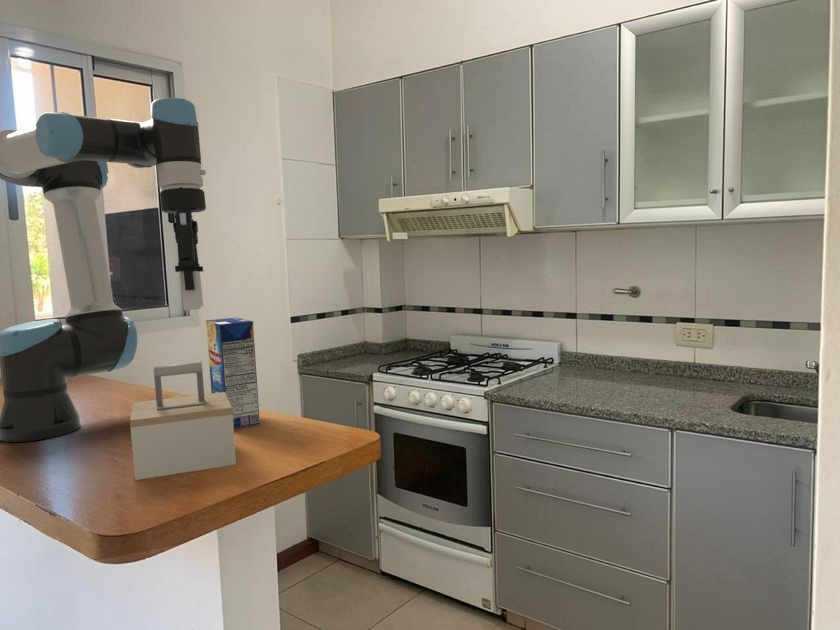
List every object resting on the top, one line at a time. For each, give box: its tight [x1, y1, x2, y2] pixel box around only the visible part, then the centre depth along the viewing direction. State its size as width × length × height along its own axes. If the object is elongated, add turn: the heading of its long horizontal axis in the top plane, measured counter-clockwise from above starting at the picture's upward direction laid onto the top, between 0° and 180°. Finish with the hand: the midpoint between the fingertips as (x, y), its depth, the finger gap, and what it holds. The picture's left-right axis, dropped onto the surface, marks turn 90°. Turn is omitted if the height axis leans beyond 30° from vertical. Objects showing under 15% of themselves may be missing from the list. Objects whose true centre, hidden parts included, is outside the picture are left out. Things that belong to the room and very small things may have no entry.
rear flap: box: [131, 361, 228, 412], centre depth 117 cm, size 7×16×8 cm, turn 112°
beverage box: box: [205, 316, 261, 430], centre depth 138 cm, size 7×11×22 cm, turn 33°
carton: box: [129, 400, 237, 481], centre depth 114 cm, size 14×16×10 cm
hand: (194, 308), depth 116 cm, fingers open, 13 cm apart
